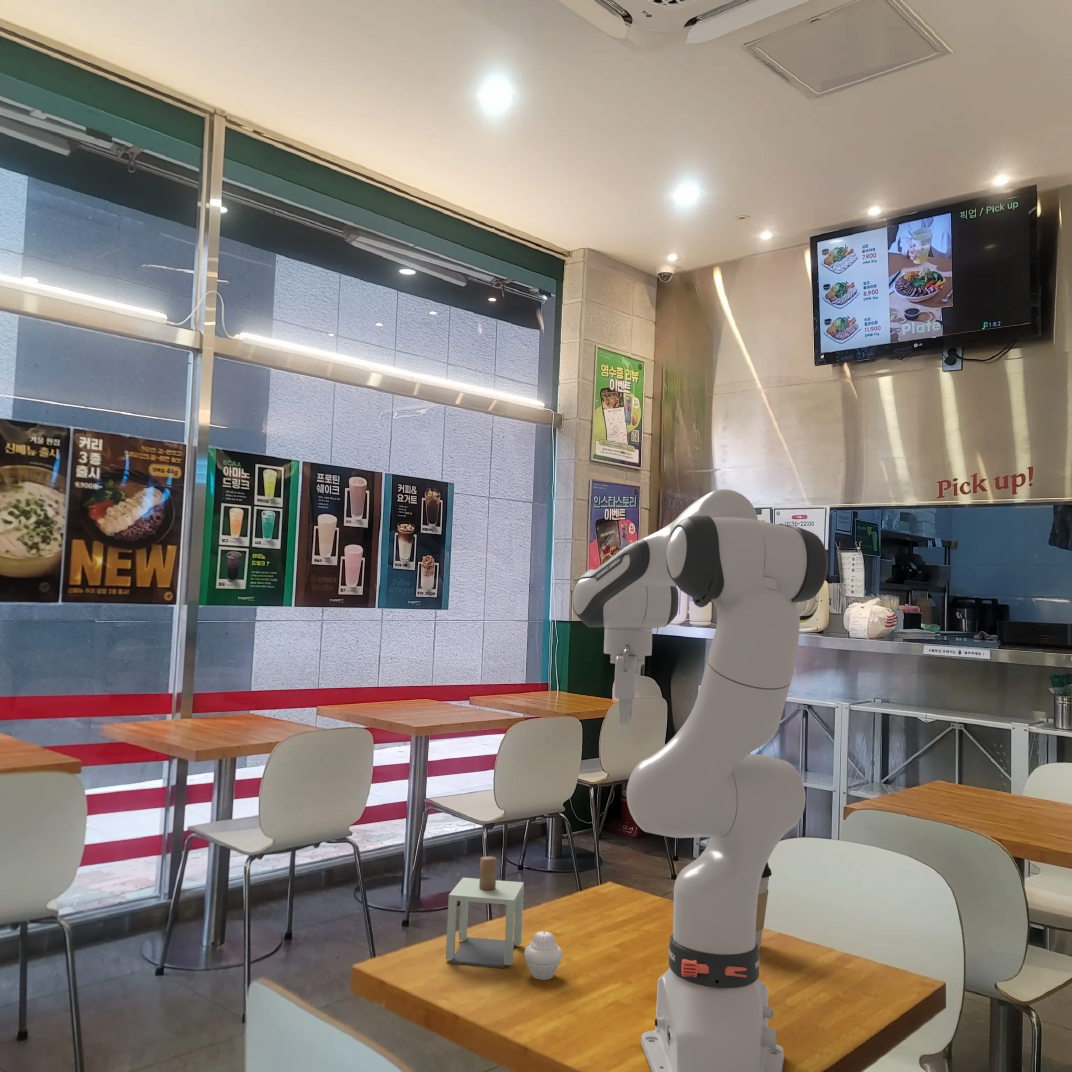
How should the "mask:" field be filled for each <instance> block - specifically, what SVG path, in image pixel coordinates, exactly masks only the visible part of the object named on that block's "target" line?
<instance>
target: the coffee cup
mask: <svg viewBox="0 0 1072 1072" xmlns="http://www.w3.org/2000/svg"><path fill="white" fill-rule="evenodd" d="M772 875H773V874H772V870H771V868H770V866H769V862H768V861H767V863H766V866H765V868H764V871H763V874H762V877H761V881H760V885H759V891H758V900H757V914H756V943H757V944H758V950H759V951H760V950H761V944H762V938H763V937H762V936H763V929H764V927H765V919H766V911H767V904H768V897H769V896H768V895H769V889H768V888H769V882H770V881H769V879H770V877H771V876H772Z"/></svg>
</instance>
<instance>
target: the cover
mask: <svg viewBox="0 0 1072 1072" xmlns="http://www.w3.org/2000/svg"><path fill="white" fill-rule="evenodd" d="M497 860H498V859H497V857H495V856H489V855H487V856H481V857H480V861H479V863H480V866H479V878H473V877H461V879H460V881H459V882H458V883H457V884H456V886H455V887H454V888H453V889H452V890H451V891H450V893H448V901H447V920H446V921H447V925H446V944H445V946H446V947H445V960H449V961H451V960H453V959H454V955H455V953H456V951H455V950H456V931H457V930H456V928H457V927H456V926H457V909H458V908H457V907H458V902H460V905H459V926H458V928H459V929H458V930H459V931H458V941H463V940H466V939H467V937H468V919H469V918H468V917H469V903H470V902H471V903H481V904H484V903H485V904H493V905H494V904H495V905H506V908H505V910H506V911H505V913H506V914H505V931H504V933H505V934H504V940H505V954H504V965H506V966H512V965H513V956H514V948H513V941H514V945H515V946H521V945H522V943H523V942H522V937H523V935H522V934H523V917H524V916H523V915H524V914H523V912H524V911H523V909H524V891H525V882H523V881H512V880H511V881H509V880H497V865H498V864H497V863H498V861H497ZM461 931H462V932H461Z"/></svg>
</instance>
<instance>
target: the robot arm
mask: <svg viewBox="0 0 1072 1072" xmlns="http://www.w3.org/2000/svg"><path fill="white" fill-rule="evenodd" d="M828 558H829V557H828V553H827V549H826V548H825V545H824V544H823V541H822V540H821V537H819V535H817V534H816V533H814V532H811V531H809V530H807V529H805V528H802V527H799V526H796V525H792V524H786V523H785V524H784V523H774V522H767V521H760V520H759V519H758V513H757V511H756V509H755V507H754V505H753V503H752V502H751V501H750V500H749V499H748V498H747V497H746V496H745V495H743V494H741V493H739V492H738V491H735V490H732V489H725V488H724V489H723V488H722V489H716V490H713V491H710V492H708V493H706V494H705V495H703V496H701V497H700V498H698V499H697V500H696V501H694V502H693V503H691V504H690V505H689V506H687V507H686V508H685V509H684V510H682V512H681V513H680V514H679V515H678V516H677V517H676V518H675V520H673V521H672V522H670V523H669V524H667V525H666V526H664V527H663V528H661V529H659V530H657V531H655V532H653V533H651V534H649V535H647V536H645V537H643V538H640V539H638V540H636V541H634V542H632V543H630V544H628V545H626V546H625V547H623V548H622V549H620V550H619V551H618V552H616V553H615V554H614V555H613V556H612V557H610V558H609V559H608V560H607V561H605V562H603V563H602V564H601V565H600V566H599V567H597V568H596V569H591V568H590V569H588V570H587V571H585V572H584V573H583V574H582V575H581V576H580V577H579V578H578V579H577V580H576V582H575V585H574V587H573V592H572V609H573V612H574V614H575V615H576V617H577V618H578V619H579V620H580V621H581V622H582V623H583V624H584V625H585V626H586V627H588V628H604V638H603V639H604V640H603V654H605V655H610V656H609V657H610V661H609V663H610V664H615V665H614V685H613V686H614V688H613V689H614V690H613V694H614V698H615V699H616V700H618V706H619V707H618V708H619V709H618V710H619V724H621V725H629V724H630V721H631V719H632V713H633V712H632V711H633V710H632V709H633V700H634V699H635V698H636V695H637V692H638V689H639V685H640V677H641V669H642V666H643V665H645V662H646V661H645V657H649V656H652V654H653V653H652V652H653V651H652V650H653V629H659V628H665V627H667V626H668V625H669V624H671V622H672V621H673V620H674V619H675V618H676V616H677V615H678V613H679V600H680V598H679V590H680V591H681V592H683V593H684V594H686V595H687V596H689V597H691V599H692V600H693V601H692V602H693V603H694V605H695V606H696V607H698V608H704V607H706V606H707V605H709V603H710V602H711V601H712V603H713V604H714V607H715V609H716V614H717V622H716V627H715V631H714V635H713V638H712V642H711V645H710V649H709V652H708V656H707V660H706V664H705V668H704V671H703V672H704V673H703V676H702V678H701V679H702V680H701V682H700V687H699V689H698V694H697V697H696V699H695V701H694V705H693V707H692V710H691V712H690V714H689V715H688V717H687V718H686V720H685V721H684V723H683V725H682V726H681V727H680V728H679V730H678V731H676V734H674V735H673V737H672V738H670V739H669V741H668V742H667V743H665V745H664V746H663V747H662V748H660V749H659V750H658V751H656V752H654V753H653V754H651V755H650V756H648V757H646V758H644V759H643V760H641V761H639V762H638V763H637V765H636V766H635V767H634V768H633V770H632V771H631V774H630V776H629V778H628V781H627V786H626V803H627V808H628V811H629V814H630V815H631V817H632V819H633V821H634V822H635V824H636V825H637V827H639V829H641V830H642V831H643V832H645V833H648V834H653V835H659V836H663V837H669V838H674V839H687V838H690V839H692V838H709V841H708V842H707V845H706V847H705V849H704V850H703V852H702V853H701V854H700V855H699V856H698V857H697V858H696V859H695V860H693V861H692V862H690V863H688V865H686V866H684V867H683V869H681V870H680V871H679V873H678V874H677V876H676V879H675V882H674V886H673V911H672V912H673V913H672V914H673V916H672V918H673V920H672V922H673V923H672V934H670V937H669V943H668V947H667V948H668V965H669V966H668V969H667V970H666V971H665V972H664V973H663V974H662V975H661V976H660V977H659V978H658V979H657V987H656V988H657V989H656V991H657V992H656V1009H655V1010H656V1011H655V1013H656V1014H655V1019H654V1026H655V1029H653V1030H649V1031H645V1032H643V1033H642V1034H641V1037H640V1038H641V1039H640V1044H641V1047H642V1049H643V1052H644V1055H645V1057H646V1059H647V1062H648V1063H647V1064H648V1066H649V1068H650V1070H651V1072H783V1069H784V1068H783V1067H784V1061H785V1050H784V1048H783V1047H782V1045H779V1044H777V1038H778V1037H777V1028H774V1027H769V1020H770V1019H771V1020H773V1017H774V1008H773V1007H772V1006H769V988H768V987H767V986H766V985H765V984H764V983H763V982H762V981H761V980H760V979H759V977H760V964H761V962H760V953H759V951H760V950H758V944H757V943H756V914H757V900H758V891H759V885H760V881H761V877H762V874H763V871H764V868H765V866H766V863H767V862H768V860H769V859H770V857H771V855H772V853H773V851H774V850H775V848H776V846H778V844H779V842H780V841H781V839H782V838H783V837H784V836H785V835H786V834H787V833H788V832H789V831H791V830H792V829H793V828H794V827H796V826H797V824H798V823H799V822H800V820H801V818H802V816H803V814H804V811H805V808H806V802H807V801H806V799H807V798H806V789H805V784H804V782H803V779H802V777H801V775H800V773H799V772H798V770H797V769H796V768H795V766H794V765H792V763H790V762H789V761H787V760H784V759H780V758H777V757H773V756H767V755H762V754H757V753H753V751H755V750H757V749H760V748H761V747H763V746H764V745H765V744H767V743H768V742H770V741H771V740H772V739H773V737H774V736H775V735H776V733H777V731H778V729H779V727H780V723H781V721H782V715H783V712H784V709H785V706H786V701H787V698H788V693H789V690H790V687H791V683H792V680H793V675H794V671H795V667H796V661H797V657H798V650H799V639H800V625H801V624H800V623H801V616H800V613H799V610H798V607H797V606H796V604H797V603H802V602H806V601H809V600H812V599H814V598H815V597H816V596H817V595H818V594H819V593H820V591H821V589H822V588H823V586H824V583H825V581H826V578H827V575H828V568H829V559H828ZM678 589H679V590H678ZM795 603H796V604H795Z"/></svg>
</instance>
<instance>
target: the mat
mask: <svg viewBox="0 0 1072 1072" xmlns="http://www.w3.org/2000/svg"><path fill="white" fill-rule="evenodd" d="M515 946H516V945H514V940H513V949H514V948H515ZM504 954H505V939H504V940H503V939H494V938H480V937H472V936H471V937H470V936H467V939H466V940H462V942H461V943H460V945H459V947H458V948H457V950H456V951H455V955H454V959H453V960H450V964H457V965H467V966H476V967H477V966H478V967H488V968H499V969H505V968H506V966H507V965H504Z"/></svg>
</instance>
